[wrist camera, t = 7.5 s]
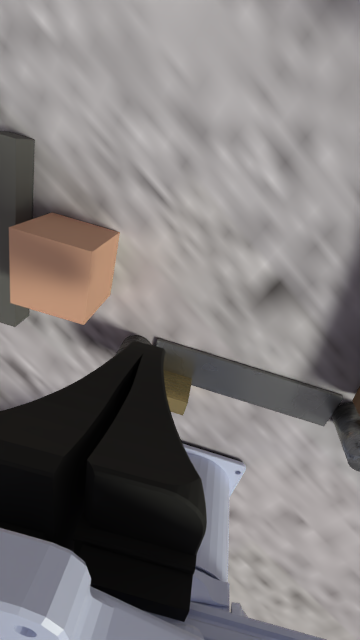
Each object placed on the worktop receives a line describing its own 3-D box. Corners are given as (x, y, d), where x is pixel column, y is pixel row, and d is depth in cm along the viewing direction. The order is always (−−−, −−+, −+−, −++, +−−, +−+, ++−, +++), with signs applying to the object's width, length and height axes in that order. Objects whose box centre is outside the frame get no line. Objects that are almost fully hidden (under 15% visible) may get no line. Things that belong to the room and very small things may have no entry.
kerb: (29, 315, 24) (14, 326, 23) (8, 309, 24) (-7, 320, 23) (34, 139, 19) (16, 138, 17) (8, 131, 19) (-14, 129, 17)
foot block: (110, 294, 23) (83, 324, 19) (49, 276, 23) (10, 302, 19) (120, 232, 20) (92, 251, 16) (52, 212, 20) (8, 227, 17)
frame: (350, 438, 25) (368, 484, 22) (117, 365, 25) (99, 400, 22) (375, 405, 23) (399, 450, 20) (125, 328, 24) (106, 359, 20)
